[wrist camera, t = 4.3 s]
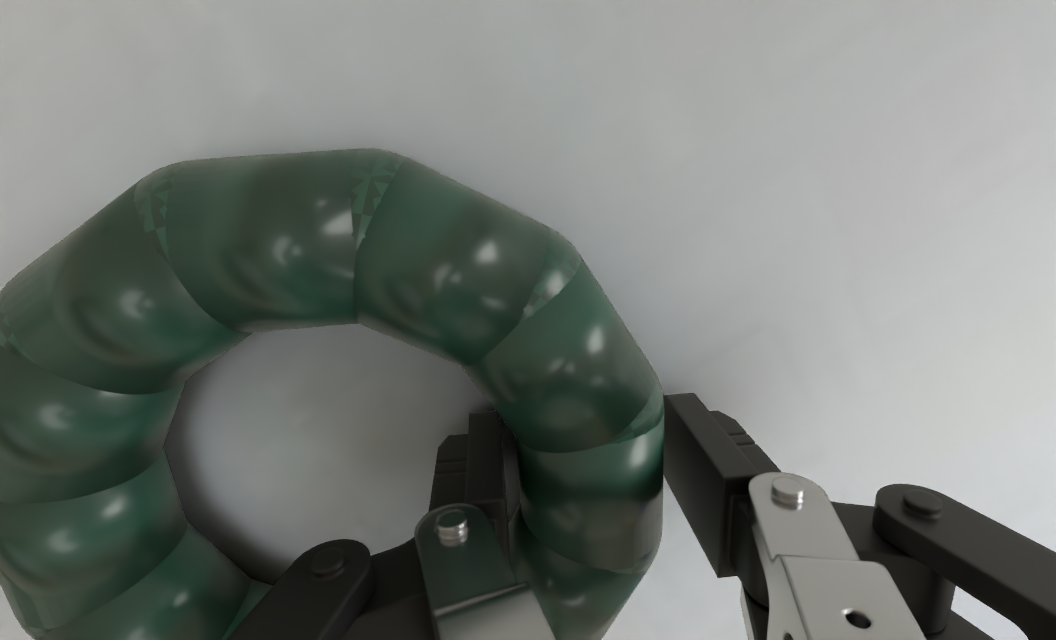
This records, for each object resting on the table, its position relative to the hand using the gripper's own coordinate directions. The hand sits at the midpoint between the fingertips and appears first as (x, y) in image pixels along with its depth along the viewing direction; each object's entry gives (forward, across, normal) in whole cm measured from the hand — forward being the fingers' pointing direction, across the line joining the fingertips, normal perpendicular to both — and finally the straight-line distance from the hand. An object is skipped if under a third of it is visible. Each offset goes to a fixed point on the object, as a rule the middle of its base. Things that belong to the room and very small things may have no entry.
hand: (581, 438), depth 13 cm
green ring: (-1, +5, 0) cm, 6 cm away
